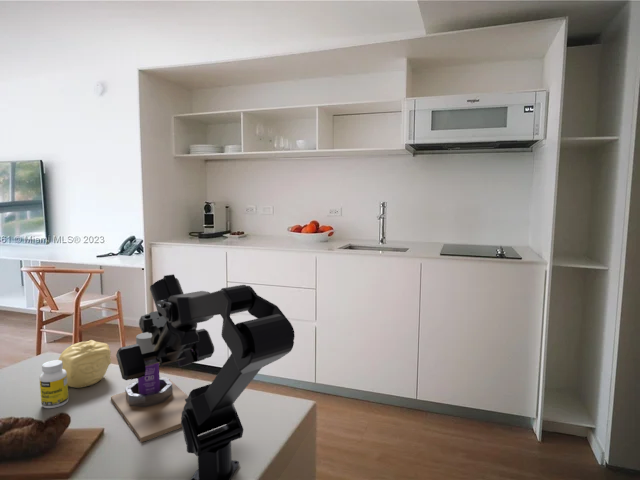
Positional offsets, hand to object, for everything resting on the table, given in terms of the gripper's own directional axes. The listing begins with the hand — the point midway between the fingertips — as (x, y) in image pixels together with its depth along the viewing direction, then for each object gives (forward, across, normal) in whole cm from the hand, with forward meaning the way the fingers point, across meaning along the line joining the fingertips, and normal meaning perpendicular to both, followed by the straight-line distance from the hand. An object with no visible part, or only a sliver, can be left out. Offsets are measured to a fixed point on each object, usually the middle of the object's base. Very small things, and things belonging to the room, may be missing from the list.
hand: (159, 370), depth 94 cm
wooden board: (+9, 0, +5) cm, 10 cm away
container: (+12, 0, +1) cm, 12 cm away
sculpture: (+27, +10, -13) cm, 32 cm away
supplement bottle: (+22, +17, -7) cm, 29 cm away
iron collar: (+12, 0, +2) cm, 13 cm away
